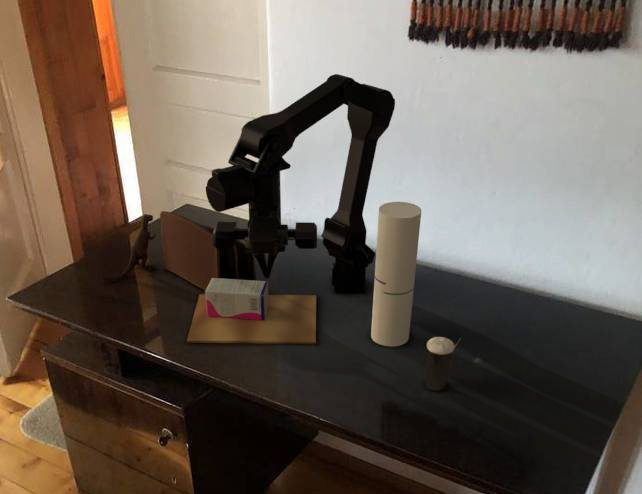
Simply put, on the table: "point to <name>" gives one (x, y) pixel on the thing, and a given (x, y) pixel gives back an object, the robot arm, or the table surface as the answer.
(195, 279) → the letter holder
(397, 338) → the cylindrical container
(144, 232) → the dinosaur model
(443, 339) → the milkshake
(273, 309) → the desk mat
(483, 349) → the table surface
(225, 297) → the supplement box
